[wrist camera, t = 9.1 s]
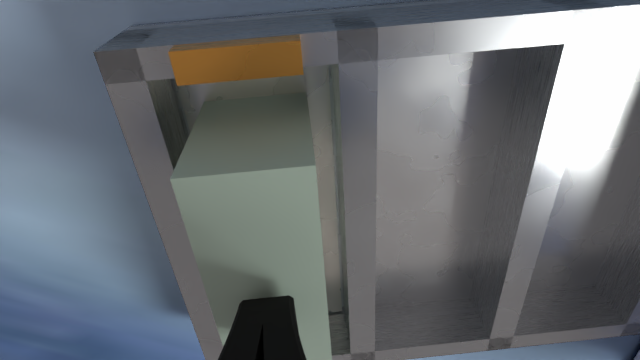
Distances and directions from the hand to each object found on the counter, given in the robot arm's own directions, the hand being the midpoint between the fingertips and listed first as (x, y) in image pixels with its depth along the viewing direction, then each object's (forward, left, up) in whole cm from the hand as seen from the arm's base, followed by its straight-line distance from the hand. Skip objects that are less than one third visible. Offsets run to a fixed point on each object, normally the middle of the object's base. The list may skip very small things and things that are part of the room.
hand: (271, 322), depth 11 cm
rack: (-6, 0, -6) cm, 8 cm away
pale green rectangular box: (0, +1, -5) cm, 5 cm away
